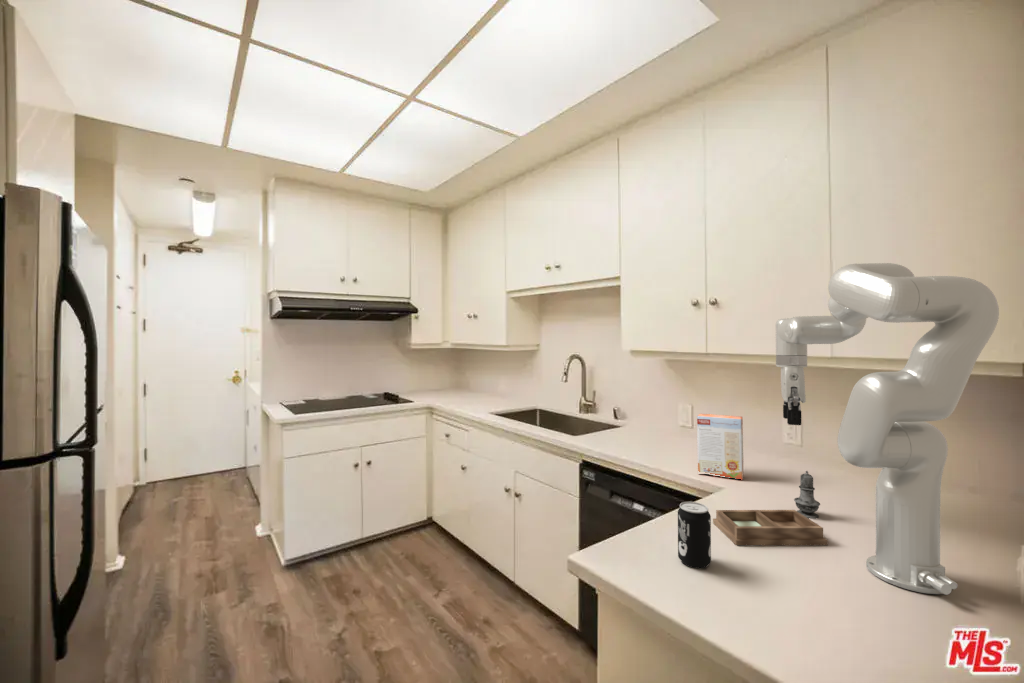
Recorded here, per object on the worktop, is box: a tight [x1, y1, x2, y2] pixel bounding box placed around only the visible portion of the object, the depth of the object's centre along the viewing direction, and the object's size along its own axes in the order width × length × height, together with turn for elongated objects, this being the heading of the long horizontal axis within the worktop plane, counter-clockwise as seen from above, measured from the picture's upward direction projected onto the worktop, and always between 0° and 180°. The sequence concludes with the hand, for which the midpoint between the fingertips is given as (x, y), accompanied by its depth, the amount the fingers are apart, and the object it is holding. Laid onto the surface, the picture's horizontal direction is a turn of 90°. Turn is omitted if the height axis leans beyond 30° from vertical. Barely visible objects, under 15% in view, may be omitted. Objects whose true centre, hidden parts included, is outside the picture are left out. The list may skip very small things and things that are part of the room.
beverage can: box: [677, 501, 712, 569], centre depth 93 cm, size 7×7×12 cm
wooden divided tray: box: [712, 509, 829, 546], centre depth 105 cm, size 21×12×4 cm, turn 89°
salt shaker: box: [793, 470, 821, 520], centre depth 116 cm, size 6×6×12 cm
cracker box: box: [696, 413, 744, 481], centre depth 149 cm, size 14×6×21 cm, turn 58°
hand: (791, 421), depth 122 cm, fingers open, 9 cm apart
